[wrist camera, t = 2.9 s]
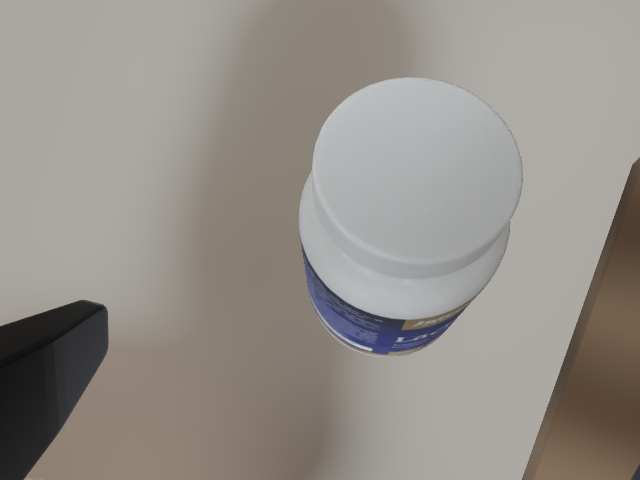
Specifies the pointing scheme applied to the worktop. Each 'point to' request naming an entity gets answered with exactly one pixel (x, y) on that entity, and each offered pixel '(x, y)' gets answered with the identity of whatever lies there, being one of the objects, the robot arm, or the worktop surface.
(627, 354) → the nut base
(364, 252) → the pill bottle
